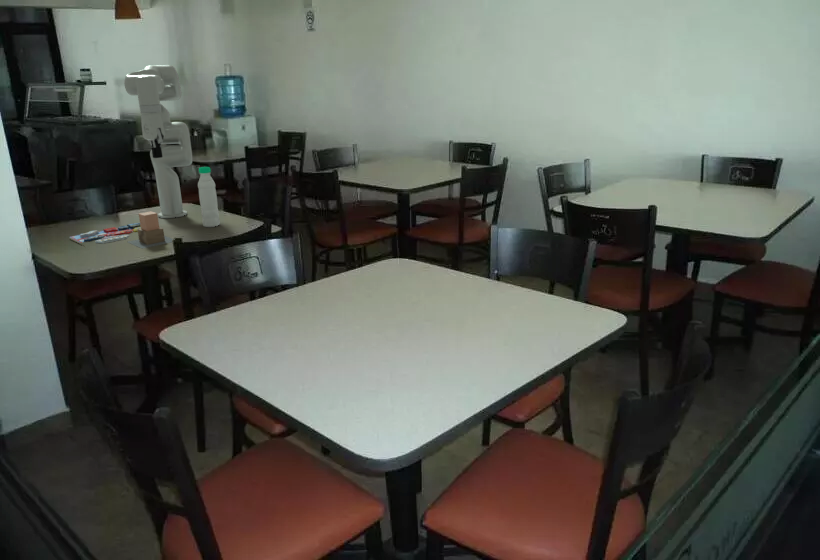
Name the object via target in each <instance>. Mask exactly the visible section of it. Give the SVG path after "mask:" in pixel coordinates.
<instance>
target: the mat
mask: <svg viewBox="0 0 820 560" xmlns="http://www.w3.org/2000/svg"><path fill="white" fill-rule="evenodd" d="M164 237H165V241H163V242H158V243H154V244H149V245H146V244H144V243H142V242H139V238H138V239H135V240H129V241H127V243H128V244H131V245H133V246H134V247H137V248H140V249H147V248H152V247H156V246H161V245H165V244H169V243H173V242H172V240H173V239H174V238H172V237H169V236H166V235H164Z"/></svg>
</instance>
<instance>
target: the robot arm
mask: <svg viewBox="0 0 820 560" xmlns="http://www.w3.org/2000/svg"><path fill="white" fill-rule="evenodd" d="M180 82H181V81H180V78H179V74H178V71H177V70H176V68H175V67H174V66H173V65H172V64H151V65H146V66H145V67H143V68H142V69H141V70H138V71H132V72H129V73H127V74H126V75H125V78H124V89H125V91H126V93H127V94H128V95H130V96H135V97H136V96H137V100H138V106H139V112H140V121H141V122H140V123H141V131H142V132H141V133H142V137H143V139H144V140H147V141H148V142H149V144H150V147H151V148H150V149H151V150H150V151H149V156H150V160H151V164H152V167H153V170H154V175H155V181H156V187H157V193H158V200H159V209H160V212H159V213H157V215H158V218H161V219H174V218H175V217H176V218H181V217H184V215H185V216H187V215H188V211H187V210H184V207H183V200H182V194H181V187H180V186H181V185H180V179H179V176H178V174H177V172H176V171H174V170H173V169H172V168H175V167H176V168H177V167H178V168H179V167H188V166H191V165H192V163H193V150H192V142H191V135H190V129H189V127H188V125H187V124H186V122H183V121H171V117H170V112H169V110H168V109H167V108H166V107H165V106H164V105H163V104H161V102H170V101H171V102H175V101H179V100H181V98H182V93H183V92H182V87H181V83H180ZM176 218H175V219H176Z"/></svg>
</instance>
